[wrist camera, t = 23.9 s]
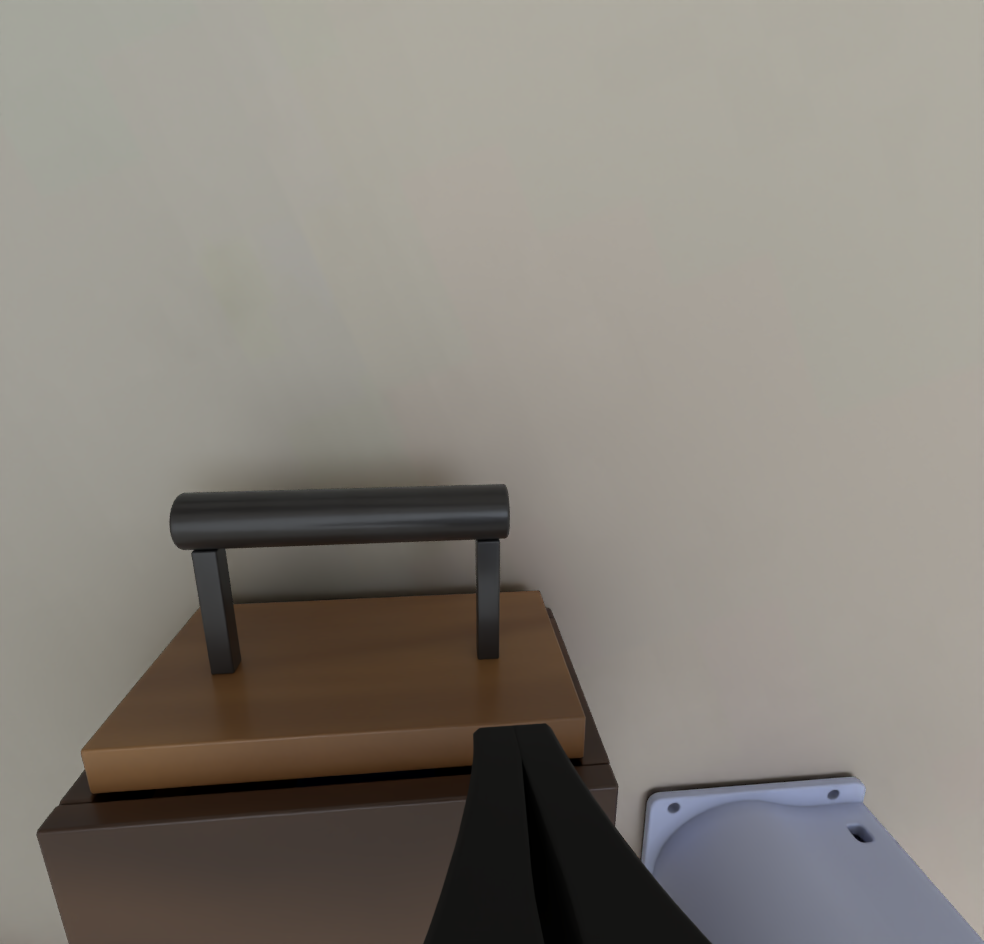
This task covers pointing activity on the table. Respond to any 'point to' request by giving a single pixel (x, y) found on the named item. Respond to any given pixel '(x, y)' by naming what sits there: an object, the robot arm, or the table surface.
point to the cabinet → (269, 858)
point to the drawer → (335, 655)
